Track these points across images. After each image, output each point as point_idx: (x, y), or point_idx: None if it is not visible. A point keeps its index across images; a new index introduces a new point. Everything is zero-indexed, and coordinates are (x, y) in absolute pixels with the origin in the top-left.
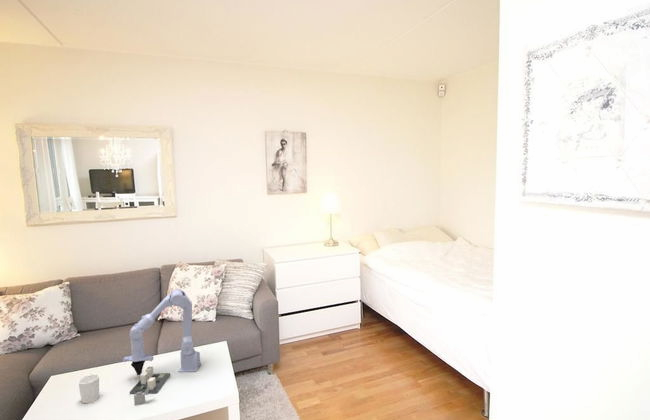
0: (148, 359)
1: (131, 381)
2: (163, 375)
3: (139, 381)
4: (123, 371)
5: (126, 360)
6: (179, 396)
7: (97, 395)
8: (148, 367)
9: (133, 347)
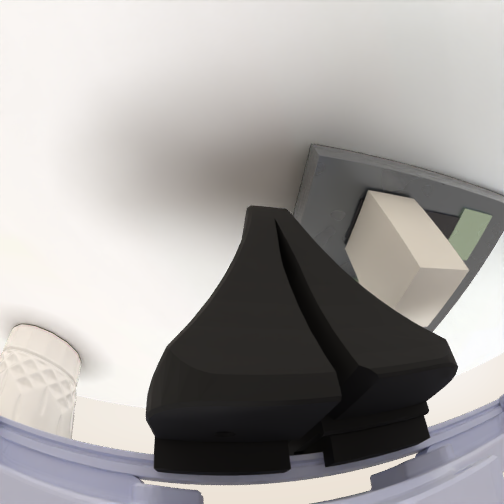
0: (474, 432)
1: (178, 224)
2: (478, 234)
3: None
4: None
5: (19, 446)
6: (468, 349)
7: (75, 371)
8: (418, 287)
9: None
